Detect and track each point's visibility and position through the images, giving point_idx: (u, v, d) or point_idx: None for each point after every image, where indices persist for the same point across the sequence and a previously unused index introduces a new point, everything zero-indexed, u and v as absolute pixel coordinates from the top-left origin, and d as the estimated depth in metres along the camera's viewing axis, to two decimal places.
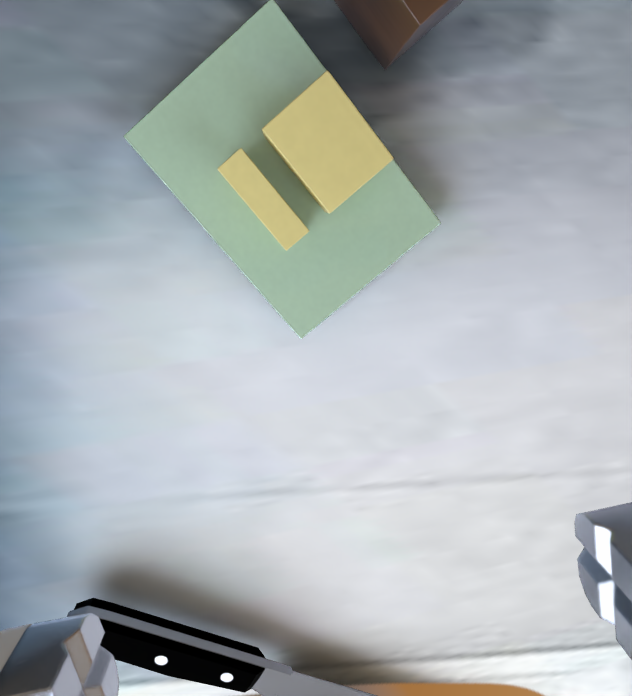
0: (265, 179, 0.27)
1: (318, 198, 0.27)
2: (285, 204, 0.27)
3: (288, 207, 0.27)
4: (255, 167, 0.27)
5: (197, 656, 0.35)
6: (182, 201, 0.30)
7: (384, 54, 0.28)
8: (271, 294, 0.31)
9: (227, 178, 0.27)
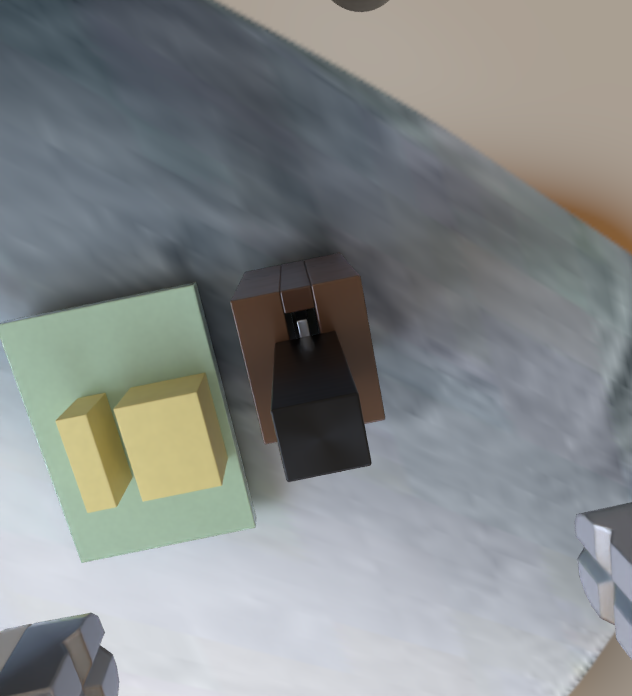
0: (96, 449, 0.27)
1: (138, 485, 0.28)
2: (105, 476, 0.27)
3: (106, 480, 0.27)
4: (92, 435, 0.27)
5: None
6: (25, 403, 0.29)
7: None
8: (71, 515, 0.31)
9: (60, 432, 0.27)
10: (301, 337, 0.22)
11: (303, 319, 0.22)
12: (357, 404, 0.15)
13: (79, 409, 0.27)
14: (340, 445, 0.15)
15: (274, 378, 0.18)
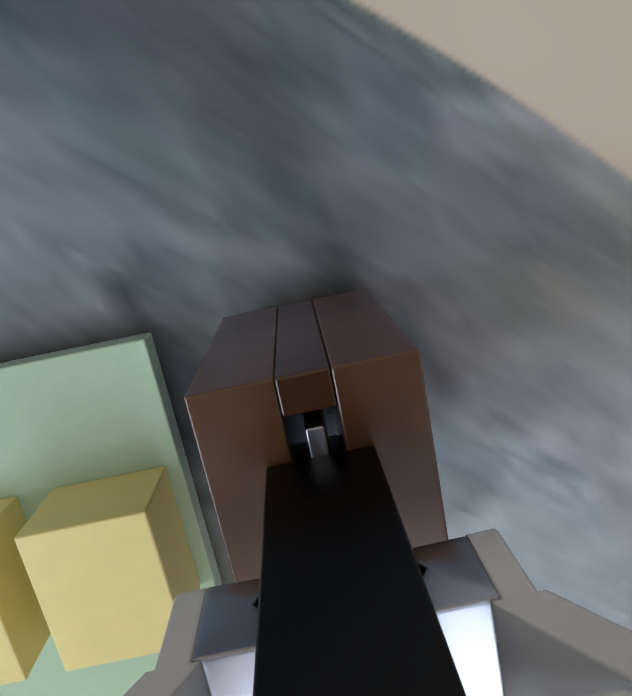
0: None
1: (58, 648, 0.18)
2: (6, 637, 0.18)
3: (8, 643, 0.18)
4: None
5: None
6: None
7: None
8: None
9: None
10: (313, 458, 0.12)
11: (317, 426, 0.12)
12: None
13: None
14: None
15: (262, 608, 0.08)
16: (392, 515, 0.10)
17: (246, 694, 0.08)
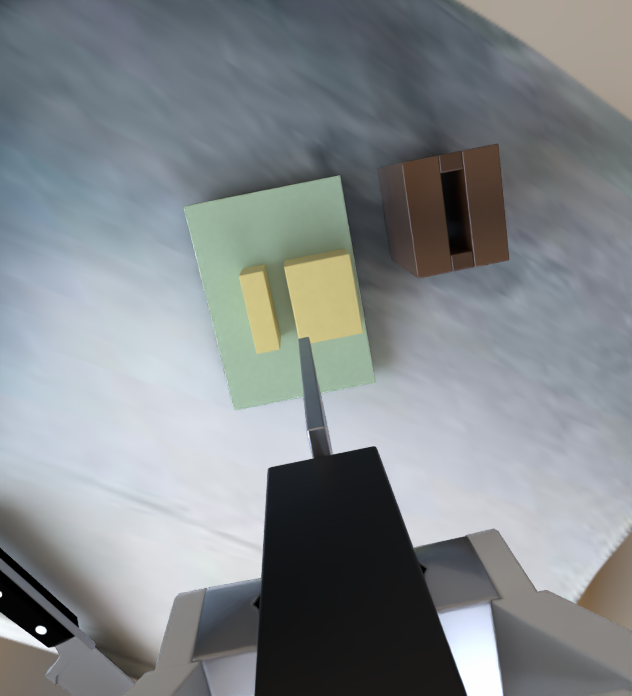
0: (268, 300, 0.34)
1: (298, 331, 0.35)
2: (273, 323, 0.35)
3: (274, 326, 0.35)
4: (265, 288, 0.34)
5: (27, 603, 0.41)
6: (201, 272, 0.37)
7: (395, 255, 0.36)
8: (229, 369, 0.38)
9: (242, 285, 0.34)
10: (315, 458, 0.12)
11: (318, 426, 0.12)
12: None
13: (253, 270, 0.35)
14: None
15: (263, 609, 0.08)
16: (394, 516, 0.10)
17: (246, 694, 0.08)
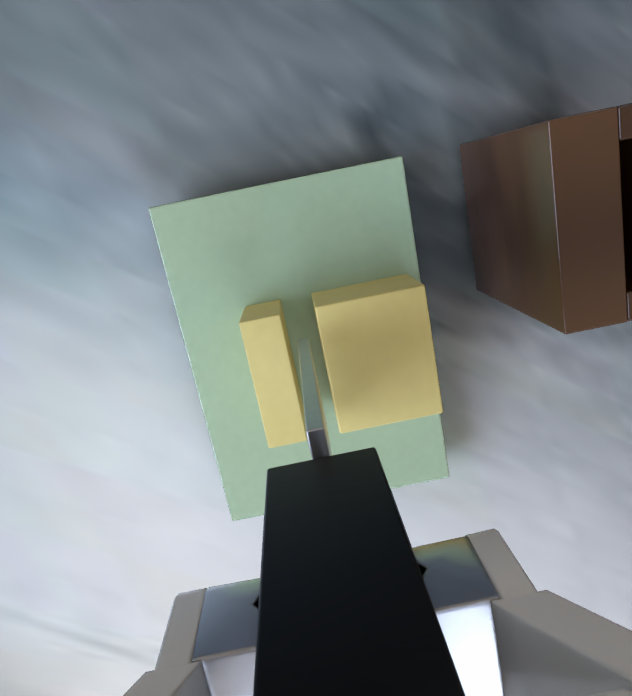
0: (288, 362, 0.21)
1: (337, 411, 0.21)
2: (296, 399, 0.21)
3: (297, 404, 0.21)
4: (284, 344, 0.20)
5: None
6: (178, 313, 0.23)
7: (489, 285, 0.23)
8: (225, 460, 0.25)
9: (245, 339, 0.20)
10: (314, 459, 0.12)
11: (317, 427, 0.12)
12: None
13: (262, 312, 0.21)
14: None
15: (262, 610, 0.08)
16: (393, 517, 0.10)
17: (246, 694, 0.08)
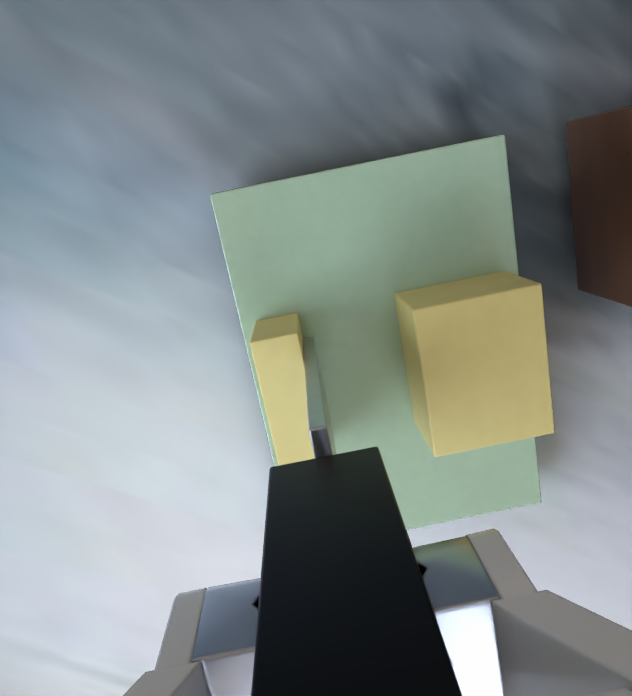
0: None
1: (432, 431, 0.18)
2: None
3: None
4: (303, 367, 0.17)
5: None
6: (241, 316, 0.20)
7: (601, 284, 0.20)
8: None
9: (256, 361, 0.17)
10: (317, 458, 0.12)
11: (320, 426, 0.12)
12: None
13: (277, 329, 0.18)
14: None
15: (262, 608, 0.08)
16: (394, 516, 0.10)
17: (246, 694, 0.08)
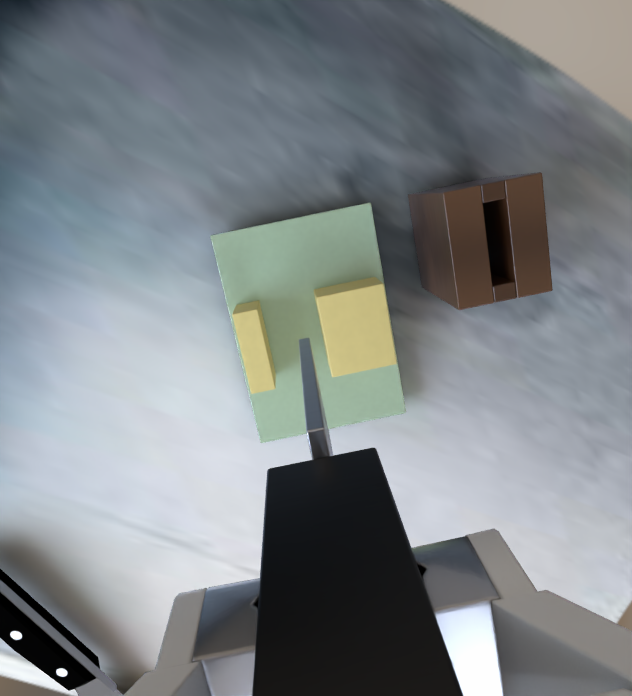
0: (263, 339, 0.33)
1: (330, 363, 0.34)
2: (268, 362, 0.34)
3: (269, 365, 0.34)
4: (260, 327, 0.33)
5: (48, 645, 0.39)
6: (228, 302, 0.36)
7: (427, 284, 0.35)
8: (256, 401, 0.37)
9: (235, 324, 0.33)
10: (314, 459, 0.12)
11: (318, 427, 0.12)
12: None
13: (247, 308, 0.34)
14: None
15: (262, 610, 0.08)
16: (392, 517, 0.10)
17: (246, 694, 0.08)
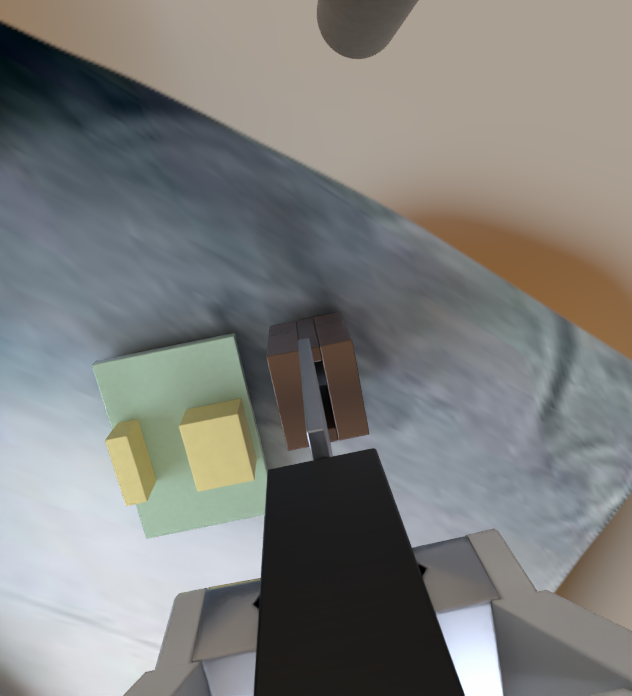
0: (133, 460, 0.38)
1: (194, 480, 0.38)
2: (139, 480, 0.38)
3: (140, 482, 0.38)
4: (130, 450, 0.38)
5: None
6: (110, 421, 0.40)
7: None
8: (140, 503, 0.42)
9: (108, 448, 0.37)
10: (314, 460, 0.12)
11: (318, 428, 0.12)
12: None
13: (121, 431, 0.38)
14: None
15: (262, 612, 0.08)
16: (393, 518, 0.10)
17: (246, 694, 0.08)
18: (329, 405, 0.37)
